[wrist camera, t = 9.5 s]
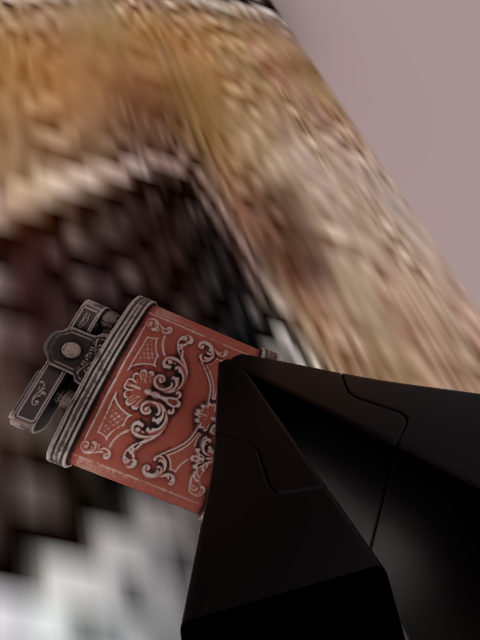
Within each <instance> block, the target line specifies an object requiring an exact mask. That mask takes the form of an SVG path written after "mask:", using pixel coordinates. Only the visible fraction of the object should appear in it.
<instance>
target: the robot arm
mask: <svg viewBox="0 0 480 640" xmlns="http://www.w3.org/2000/svg"><path fill="white" fill-rule="evenodd" d="M401 624H402V626H403V628H404V630H405V631H406V633H407V635H408V637H409V639H410V640H480V394H478V393H470V392H462V391H455V390H447V389H440V388H432V387H425V386H417V385H410V384H403V383H396V382H389V381H382V380H376V379H371V378H365V377H360V376H354V375H349V374H344V373H343V374H342V375H341V374H340V373H337V372H332V371H327V370H322V369H317V368H312V367H307V366H302V365H297V364H292V363H287V362H282V361H277V360H272V359H267V358H262V357H257V356H252V355H247V354H239V355H237V356H234V357H232V358H231V359H226V360H224V361H221V362H219V363H218V373H217V396H216V419H215V435H214V452H213V463H212V471H211V477H210V483H209V489H208V494H207V499H206V504H205V509H204V514H203V519H202V524H201V529H200V534H199V539H198V544H197V549H196V554H195V559H194V564H193V569H192V574H191V579H190V584H189V589H188V594H187V599H186V604H185V609H184V614H183V619H182V624H181V639H182V640H405V637H404V633H403V629H402V626H401Z"/></svg>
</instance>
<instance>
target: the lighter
mask: <svg viewBox="0 0 480 640" xmlns="http://www.w3.org/2000/svg"><path fill="white" fill-rule="evenodd" d="M104 328H105V329H107V330H112V331H111V332H110V334H109V335H107V334H103V333H102V331H103V330H104ZM101 333H102V334H101ZM43 350H44V353H45V355H46V356H47V361H46V363H45V365H44V366H43V368H42V369H41V370H37V371H36V373H35V374H34V376H33V378H32V379H31V381H30V382H29V384H28V386H27V387H26V389H25V390H24V392H23V394H22V395H21V397H20V398H19V400H18V401H17V403H16V405H15V406H14V408H13V409H12V411H11V413H10V415H9V418H10V419H11V420H10V424H11V425H13V426H16V427H18V428H21V429H23V430H26V431H28V432H31V433H38V432H41V431H42V430H44V429H45V428H46V426H47V425H48V424H49V422H50V421H51V419H52V418H53V416H54V414H55V412H56V411H57V409H58V407H60V408H62V409H65V410H66V412H65V414H64V416H63V418H62V420H61V422H60V424H59V426H58V428H57V430H56V433H55V435H54V437H53V439H52V441H51V443H50V445H49V448H48V451H47V455H46V459H47V460H48V461H49V462H52V463H54V464H57V465H60V466H62V467H65V468H68V467H70V466H72V465H74V466H77V467H80V468H82V469H85V470H87V471H90V472H92V473H95V474H97V475H100V476H103V477H105V478H108V479H110V480H113V481H115V482H118V483H120V484H123V485H126V486H128V487H131V488H133V489H136V490H138V491H141V492H143V493H146V494H149V495H151V496H154V497H156V498H159V499H161V500H164V501H167V502H169V503H172V504H174V505H177V506H179V507H182V508H184V509H187V510H190V511H192V512H195V513H197V518H198V520H201V521H202V519H203V514H204V509H205V504H206V499H207V494H208V489H209V483H210V477H211V471H212V463H213V452H214V435H215V419H216V396H217V373H218V363H219V362H221V361H224V360H226V359H231V358H232V357H234V356H237V355H239V354H247V355H252V356H257V357H262V358H267V359H272V360H277V361H279V356H278V354H276V353H274V352H272V351H269V350H267V349H265V348H260V349H259V350H258V349H256V348H254V347H251V346H249V345H247V344H244V343H242V342H240V341H237V340H235V339H233V338H230V337H228V336H226V335H223V334H221V333H219V332H216V331H214V330H212V329H209V328H207V327H205V326H202V325H200V324H198V323H195V322H193V321H191V320H188V319H186V318H184V317H181V316H179V315H177V314H174V313H172V312H170V311H167V310H165V309H163V308H160V307H158V305H157V303H156V302H155V301H153V300H151V299H148V298H146V297H144V296H137V297H136V298H135V299H133V300H132V302H131V303H130V304H129V305H128V307H127V308H126V310H125V311H124V313H123V314H122V316H120V315H119V314H118V313H116V312H114V311H112V310H111V309H110V308H108V307H106V306H103V305H101V304H99V303H96V302H94V301H92V300H89V299H88V300H86V301H85V302H84V303H83V304H82V306H81V307H80V309H79V310H78V312H77V313H76V315H75V317H74V318H73V320H72V321H71V323H70V325H69V326H68V328H66V329H64V330H57V331H55V332H53V333H52V334H50V335H49V337H48V338H47V340H46V341H45V343H44V347H43ZM73 381H75V382H76V383H77V384H79V387H78V389H77V391H76V392H74V391H72V390H71V391H68V390H69V388H70V387H71V385H72V383H73Z"/></svg>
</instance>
